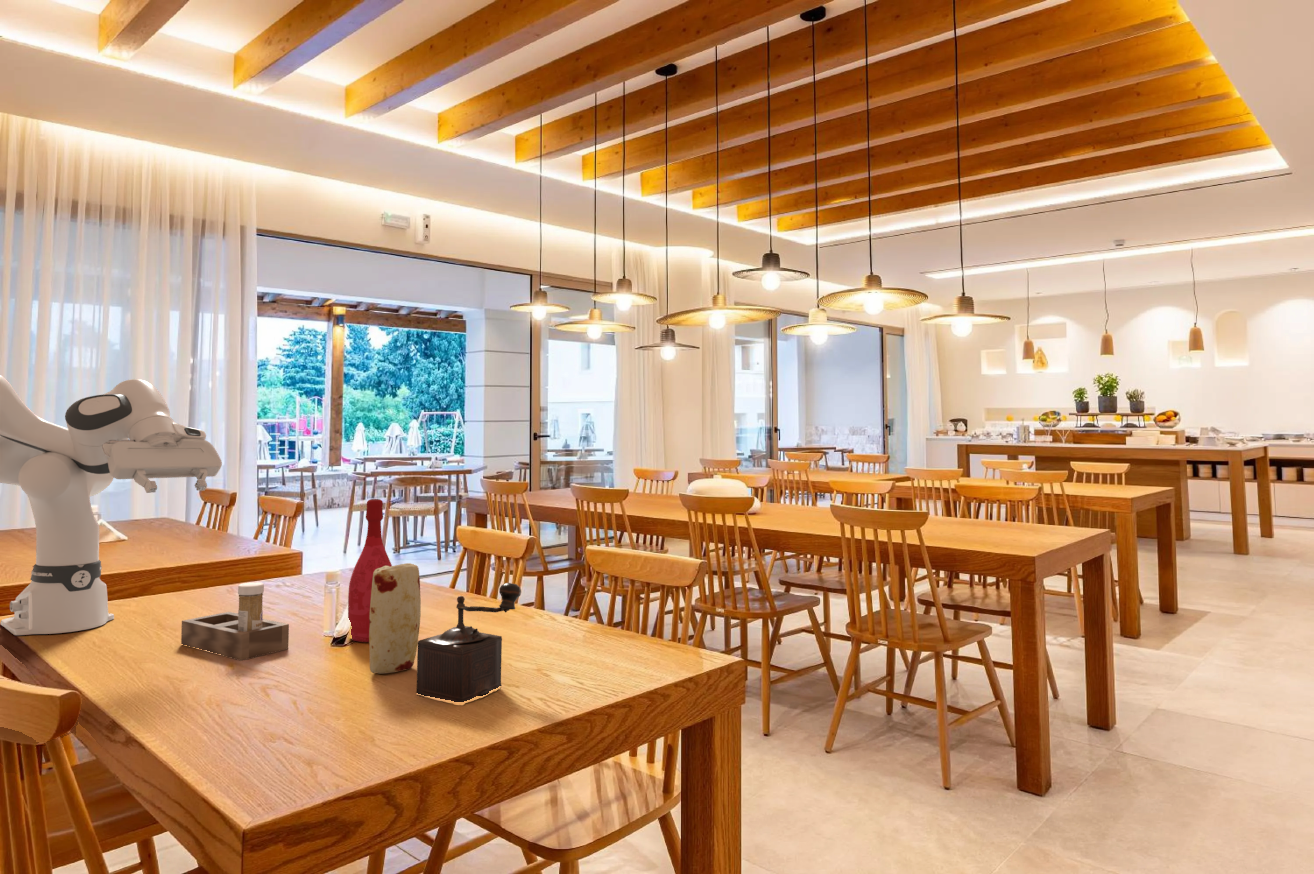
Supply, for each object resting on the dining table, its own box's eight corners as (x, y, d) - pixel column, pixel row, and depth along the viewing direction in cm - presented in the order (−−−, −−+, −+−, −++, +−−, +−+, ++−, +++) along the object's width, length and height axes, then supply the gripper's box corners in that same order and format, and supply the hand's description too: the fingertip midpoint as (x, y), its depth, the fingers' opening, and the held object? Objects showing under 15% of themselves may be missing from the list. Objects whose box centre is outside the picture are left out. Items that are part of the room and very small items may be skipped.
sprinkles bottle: (264, 651, 154) (265, 584, 154) (238, 655, 152) (239, 586, 152) (260, 646, 158) (262, 580, 158) (235, 649, 156) (236, 582, 156)
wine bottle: (337, 640, 164) (340, 499, 164) (370, 630, 173) (373, 496, 173) (373, 646, 160) (376, 501, 160) (405, 635, 169) (408, 498, 170)
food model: (378, 680, 138) (381, 568, 138) (359, 672, 142) (362, 564, 142) (426, 669, 145) (429, 562, 145) (407, 661, 150) (409, 558, 150)
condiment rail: (181, 645, 158) (181, 620, 158) (228, 634, 167) (229, 611, 167) (241, 660, 148) (241, 634, 148) (288, 648, 157) (288, 624, 157)
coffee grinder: (463, 707, 125) (466, 596, 125) (414, 695, 131) (416, 589, 131) (524, 682, 139) (526, 582, 139) (477, 672, 144) (479, 575, 144)
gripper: (104, 429, 153) (124, 480, 147) (212, 431, 169) (234, 477, 164) (94, 451, 155) (114, 503, 150) (202, 451, 172) (223, 497, 166)
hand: (177, 489), depth 157 cm, fingers open, 8 cm apart
